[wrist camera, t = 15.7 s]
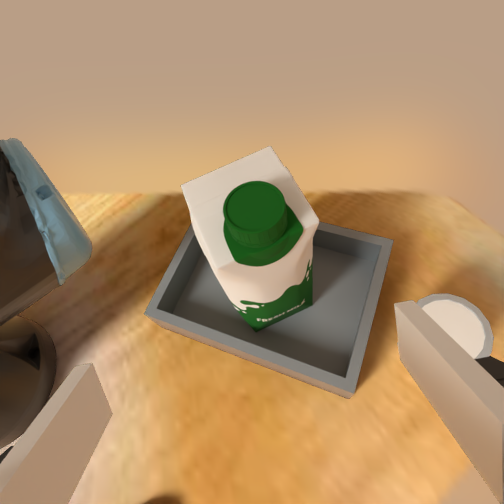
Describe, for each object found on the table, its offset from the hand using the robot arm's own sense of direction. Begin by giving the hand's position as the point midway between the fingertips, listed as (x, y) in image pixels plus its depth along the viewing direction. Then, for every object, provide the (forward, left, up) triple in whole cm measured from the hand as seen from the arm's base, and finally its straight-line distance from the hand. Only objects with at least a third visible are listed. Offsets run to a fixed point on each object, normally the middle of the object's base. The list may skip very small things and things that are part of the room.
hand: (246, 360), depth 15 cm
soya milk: (-5, +11, -23) cm, 26 cm away
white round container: (+12, +10, -24) cm, 29 cm away
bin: (-5, +11, -24) cm, 27 cm away
